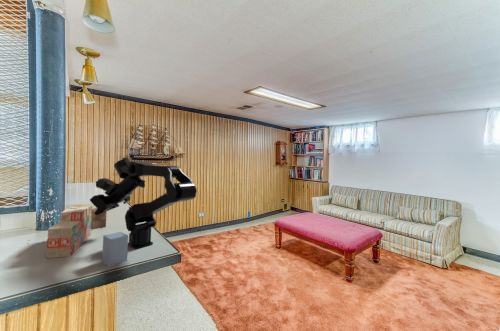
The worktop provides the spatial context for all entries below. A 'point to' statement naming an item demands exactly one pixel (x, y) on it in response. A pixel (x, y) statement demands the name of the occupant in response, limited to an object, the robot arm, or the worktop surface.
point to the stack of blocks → (69, 231)
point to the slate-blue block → (115, 248)
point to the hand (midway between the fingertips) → (95, 214)
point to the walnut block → (98, 220)
